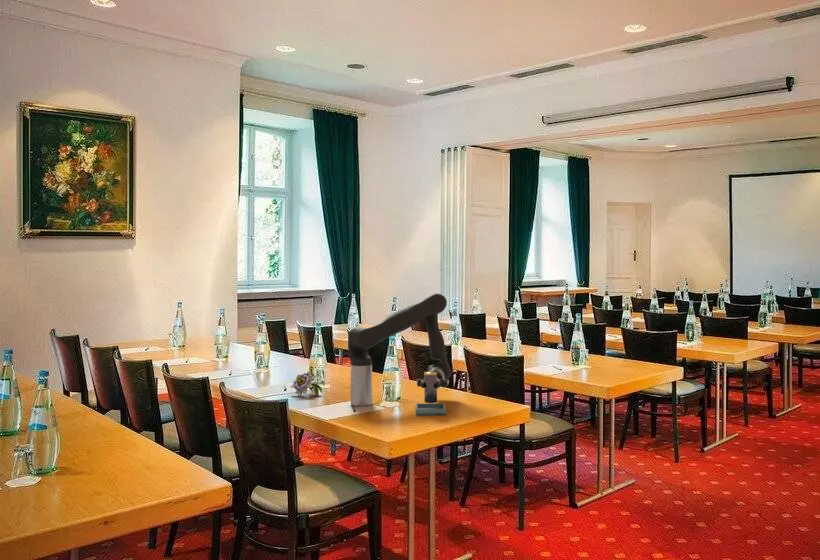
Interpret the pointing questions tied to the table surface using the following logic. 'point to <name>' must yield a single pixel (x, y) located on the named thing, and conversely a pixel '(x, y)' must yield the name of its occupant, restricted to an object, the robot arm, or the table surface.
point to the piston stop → (430, 387)
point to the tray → (430, 409)
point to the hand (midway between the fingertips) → (429, 385)
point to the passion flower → (306, 384)
